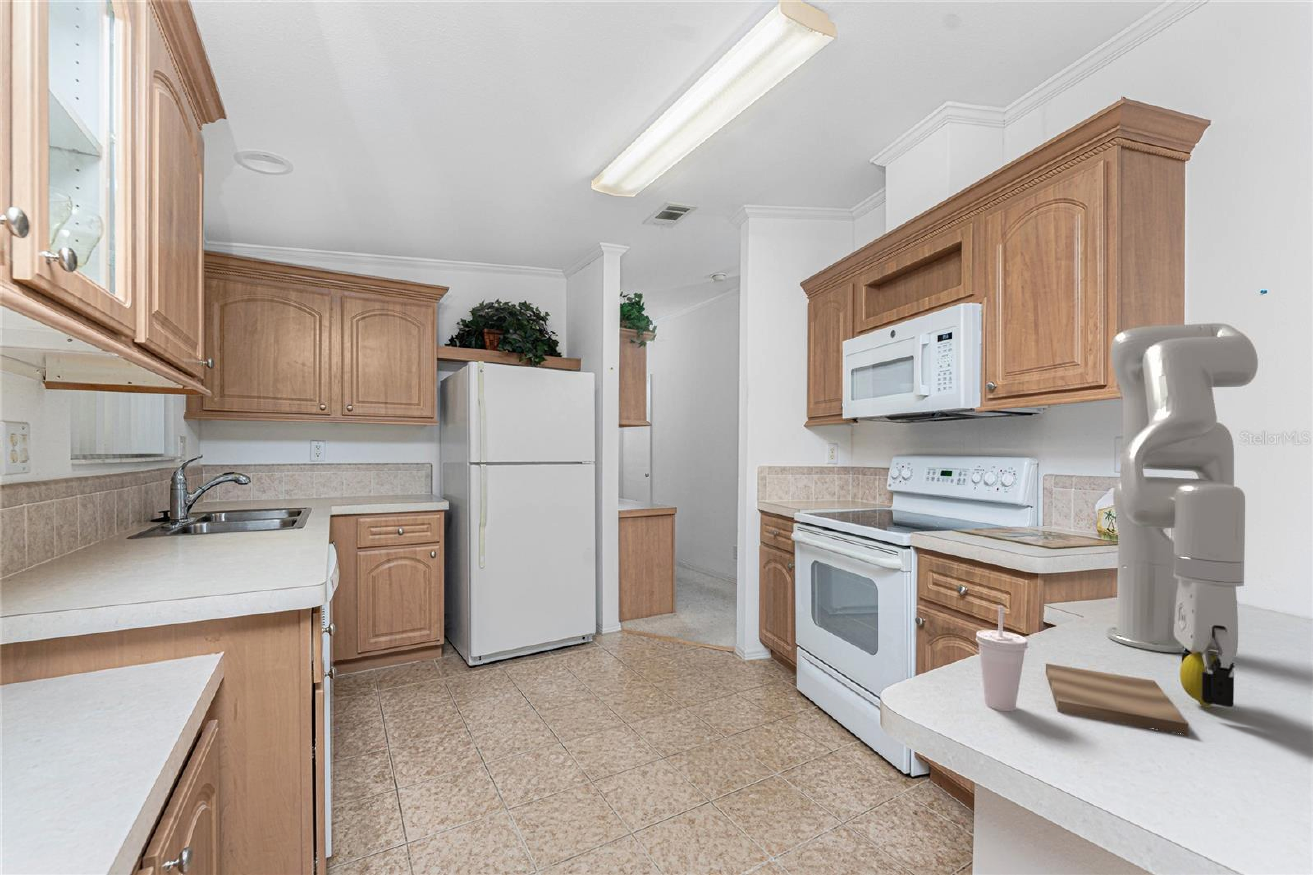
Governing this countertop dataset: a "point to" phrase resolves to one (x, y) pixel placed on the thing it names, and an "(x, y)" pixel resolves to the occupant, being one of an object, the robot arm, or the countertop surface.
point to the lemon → (1193, 676)
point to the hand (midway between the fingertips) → (1205, 692)
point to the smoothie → (1001, 665)
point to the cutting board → (1113, 698)
